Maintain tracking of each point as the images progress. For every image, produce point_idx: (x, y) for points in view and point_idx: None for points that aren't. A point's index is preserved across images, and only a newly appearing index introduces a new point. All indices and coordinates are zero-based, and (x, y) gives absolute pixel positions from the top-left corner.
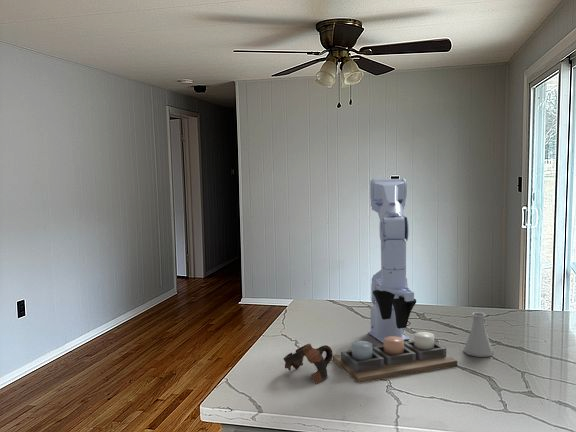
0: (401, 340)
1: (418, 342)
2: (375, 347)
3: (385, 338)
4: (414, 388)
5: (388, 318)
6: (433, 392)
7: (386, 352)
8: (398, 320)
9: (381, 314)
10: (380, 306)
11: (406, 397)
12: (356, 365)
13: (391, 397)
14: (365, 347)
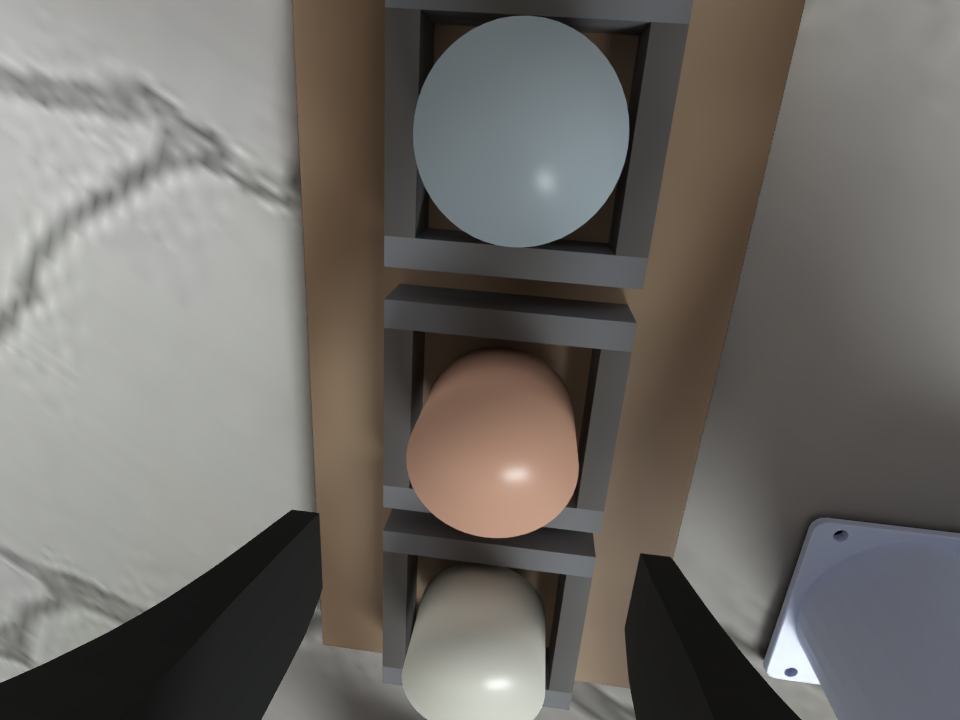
0: (447, 504)
1: (453, 602)
2: (614, 338)
3: (550, 428)
4: (142, 271)
5: (628, 612)
6: (78, 330)
7: (483, 353)
8: (219, 565)
9: (670, 588)
10: (699, 677)
11: (44, 156)
12: None
13: (58, 67)
14: (429, 127)
